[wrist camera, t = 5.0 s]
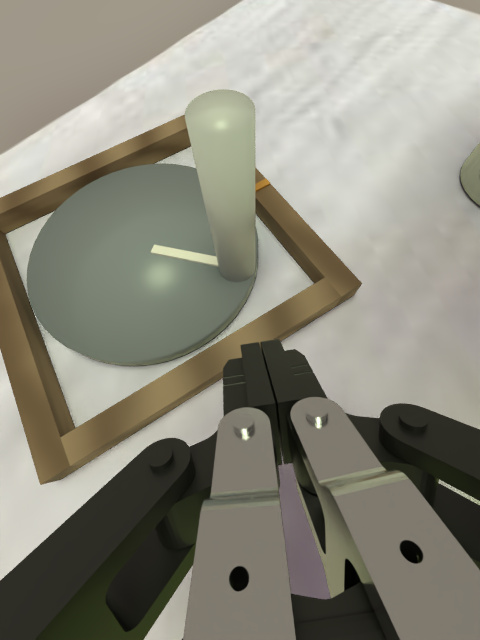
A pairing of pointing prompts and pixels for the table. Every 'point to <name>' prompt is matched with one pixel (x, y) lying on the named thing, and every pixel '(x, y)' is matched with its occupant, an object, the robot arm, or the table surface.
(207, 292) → the dial
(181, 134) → the dial frame
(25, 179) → the table surface
